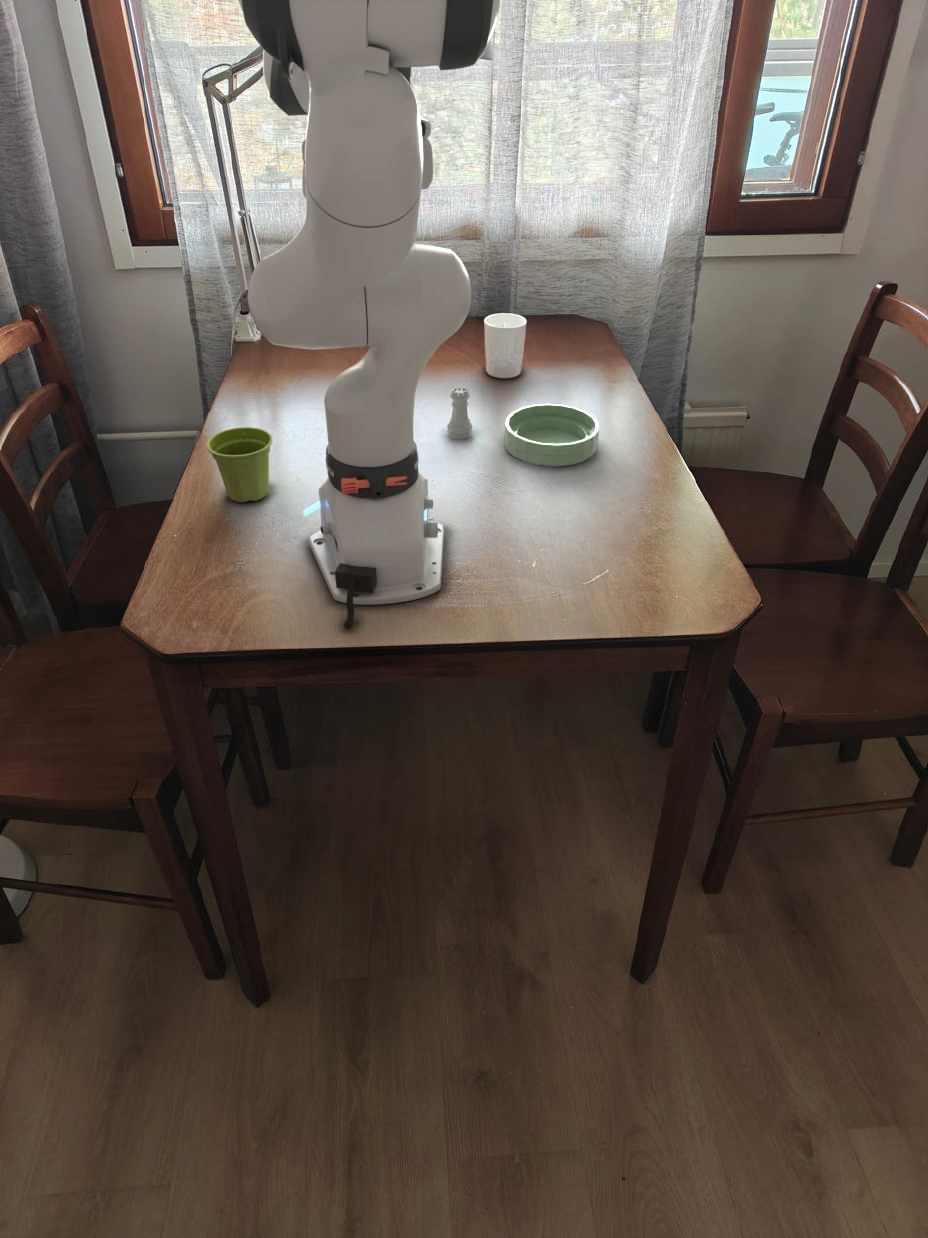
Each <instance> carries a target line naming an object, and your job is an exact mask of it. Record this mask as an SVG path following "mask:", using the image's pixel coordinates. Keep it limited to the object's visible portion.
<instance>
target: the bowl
mask: <svg viewBox="0 0 928 1238" xmlns="http://www.w3.org/2000/svg"><path fill="white" fill-rule="evenodd" d="M599 433H600V423H599V421H598V420H597V418H596V417H595V416H594V415H592V414H590V413H589V412H587V411H585V410H583V409H581V408H578V407H575V406H570V405H566V404H557V403H540V404H532V405H526V406H522V407H520V408H518V409H516V410H513V411H512V412H510V413H509V414H508V415H507V416H506V417H505V421H504V435H503V436H504V437H503V438H504V439H503V444H504V447H505V449H506V451H507V452H508V453H509V454H511V455H512V456H513V457H515V458H517V459H519V460H521V461H523V462H525V463H530V464H534V465H538V466H550V467H560V466H561V467H563V466H572V465H576V464H579V463H582V462H584V461H586V460H588V459H590V458H592V457H593V456H594V454H595V453H596V452H597V450H598V443H599Z"/></svg>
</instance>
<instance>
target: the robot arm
mask: <svg viewBox="0 0 928 1238" xmlns="http://www.w3.org/2000/svg"><path fill="white" fill-rule="evenodd" d="M237 1H238V4H239V6H240V9H241V11H242V14H243V18H244V23H245V25H246V27H247V29H248V30H249V32H250V33H251V35H252V36H253V38H254V40H255V41H256V42H257V43H258V45H259V46H260V47H261V49H262V50H263V54H262V71H263V78H264V79H263V80H264V84H265V87H266V90H267V92H268V96H269V98H270V100H271V101H272V102H273V103H274V104H275V105H276V106H277V108H279V109H280V110H281V111H282V112H283V113H284V114H285V115H287V116H289V117H293V116H307V121H306V122H307V123H306V130H305V138H304V140H303V141H302V144H301V155H302V156H301V157H302V162H303V164H302V181H301V182H302V183H301V185H302V188H301V189H302V195H303V196H304V198H305V199H306V207H305V208H306V209H305V220H304V223H303V225H302V226H301V228H300V229H299V231H298V232H297V233H296V235H294V237H293V238H292V239H291V240H290V241H288V243H286V244H285V245H284V246H283V247H281V248H280V249H278V250H276V251H274V252H273V253H270V254H269V255H267V256H264V257H262V258H261V259H260V260H259V262H258V263H257V264H256V266H255V267H254V269H253V271H252V272H251V276H250V279H249V282H248V288H247V304H248V309H249V313H250V316H251V318H252V321H253V323H254V325H255V327H256V328H257V330H258V331H259V332H260V334H261V335H262V336H263V337H264V338H265V339H266V340H267V341H268V342H269V343H270V344H272V345H275V346H281V347H288V348H294V349H304V350H311V351H312V350H313V351H315V350H326V349H341V348H343V349H344V348H355V347H356V348H357V347H368V350H367V352H366V353H365V355H364V356H363V357H362V358H361V360H359V361H358V362H357V363H355V364H354V365H352V366H350V367H348V368H347V369H345V370H343V371H342V372H341V373H339V374H338V375H337V376H336V377H335V378H334V379H333V380H332V381H331V383H330V384H329V386H328V387H327V388H326V392H325V395H324V399H323V403H324V412H325V413H324V414H325V424H326V434H327V446H326V447H325V467H326V471H327V479H326V480H325V482H324V483H323V484H322V485H321V486H320V487H319V488H318V499H319V500H318V501H317V502H315V503H313V504H311V505H310V506H309V507H307V508H305V509H303V510H302V513H303V516H304V517H306V516H308V515H310V514H311V513H313V512H314V511H316V510H318V509H319V510H320V522H321V525H320V530H317V531H316V532H314V533H312V534H311V535H310V536H309V540H308V541H309V547H310V549H311V552H312V554H313V556H314V559H315V561H316V563H317V565H318V567H319V569H320V572H321V574H322V576H323V578H324V581H325V582H326V586H327V587H328V590H329V591H330V594H331V596H332V598H333V599H334V601H337V602H340V603H344V604H346V612H347V617H346V620H345V622H344V625H343V626H344V628H346V629H350V628H351V627H352V624H353V622H354V619H355V609H354V605H360V606H374V605H375V606H376V605H387V604H388V605H389V604H396V603H397V604H398V603H405V602H410V601H415V600H419V599H422V598H425V597H429V596H430V595H433V594H435V593H436V592H438V591H440V589H441V587H442V576H443V560H444V543H445V528H444V525H443V524H442V523H440V522H438V521H437V520H435V519H434V517H430V513H429V510H433V509H434V499H433V498H431V497H430V498H429V485H428V483H429V482H428V479H427V478H425V476H423V475H422V474H420V473H419V464H420V463H419V462H420V461H419V453H418V447H417V443H416V442H415V440H414V419H415V418H414V416H415V415H414V413H415V399H416V398H415V397H416V393H417V392H416V391H417V387H418V383H419V380H420V378H421V375H422V373H423V372H424V369H425V367H426V365H427V364H428V362H429V361H430V359H431V357H432V356H433V355H434V353H436V351H437V350H438V349H439V348H440V347H441V346H442V344H444V343H445V342H446V341H447V340H448V339H449V338H450V337H452V336H453V335H454V334H456V333H457V332H458V331H459V330H460V328H461V327H462V325H463V324H464V323H465V321H466V319H467V316H468V314H469V313H470V308H471V304H472V303H471V302H472V283H471V279H470V275H469V273H468V270H467V268H466V266H465V264H464V262H463V261H462V259H461V258H460V257H459V256H458V254H456V253H455V252H454V251H453V250H452V249H450V248H444V247H439V246H434V245H428V244H421V243H415V241H416V237H417V233H418V232H417V230H418V221H419V212H420V202H421V194H422V191H423V190H427V189H429V187H430V186H431V184H432V183H433V181H434V148H433V144H432V142H431V140H430V139H429V137H430V136H431V134H432V123H431V122H430V121H429V120H428V119H426V118H424V117H422V116H421V113H420V107H419V103H418V99H417V97H416V94H415V92H414V91H415V90H414V88H413V83H412V82H413V81H412V74H413V73H412V72H413V68H427V67H438V69H439V71H440V72H441V71H451V70H452V71H454V70H461V69H465V68H469V67H473V66H474V65H476V63H477V62H479V60H480V59H481V58H482V57H483V55H484V54H486V50H487V46H488V43H489V41H490V40H491V37H492V35H493V33H494V31H495V27H496V25H497V22H498V19H499V14H500V13H499V12H500V7H501V0H237Z"/></svg>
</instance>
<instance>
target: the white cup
mask: <svg viewBox="0 0 928 1238" xmlns="http://www.w3.org/2000/svg"><path fill="white" fill-rule="evenodd" d="M483 324H484V355H485V356H484V357H485V371H486V373H487V375H489V376H491V377H493V378H497V379H512V378H516V377H518V376H519V375H520V374H521V372H522V365H523V359H524V352H525V343H526V333H527V319H526V317H524V316H522V315H519V314H517V313H516V314H515V313H507V312H505V313H504V312H502V313H494V314H490V315H488V316H486V317H485V318H484V320H483Z"/></svg>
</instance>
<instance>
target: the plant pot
mask: <svg viewBox="0 0 928 1238" xmlns="http://www.w3.org/2000/svg"><path fill="white" fill-rule="evenodd" d="M272 443H273V436H272V435H271V433H270V432H268V431H267V430H265V429H262V428H259V427H251V426H239V427H234V428H233V427H232V428H229V429H225V430H222V431H220V432H217V433H214V435H212V436H210V437H209V439H208V440H207V441H206V449H207V451H208V452H209V453H210V454H211V456H212V459H214V461H215V463H216V465H217V468H218V470H219V474H220V476H221V479H222V482H223V484H224V487H225V491H226V494H227V495H228V498H229V499H231V500H232V501H234V502H238V503H246V502H248V501H254V502H256V501H260V500H261V499H263V498H265V497H266V496H267V495H268V494H269V492H270V463H269V462H270V451H271V445H272Z"/></svg>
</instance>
